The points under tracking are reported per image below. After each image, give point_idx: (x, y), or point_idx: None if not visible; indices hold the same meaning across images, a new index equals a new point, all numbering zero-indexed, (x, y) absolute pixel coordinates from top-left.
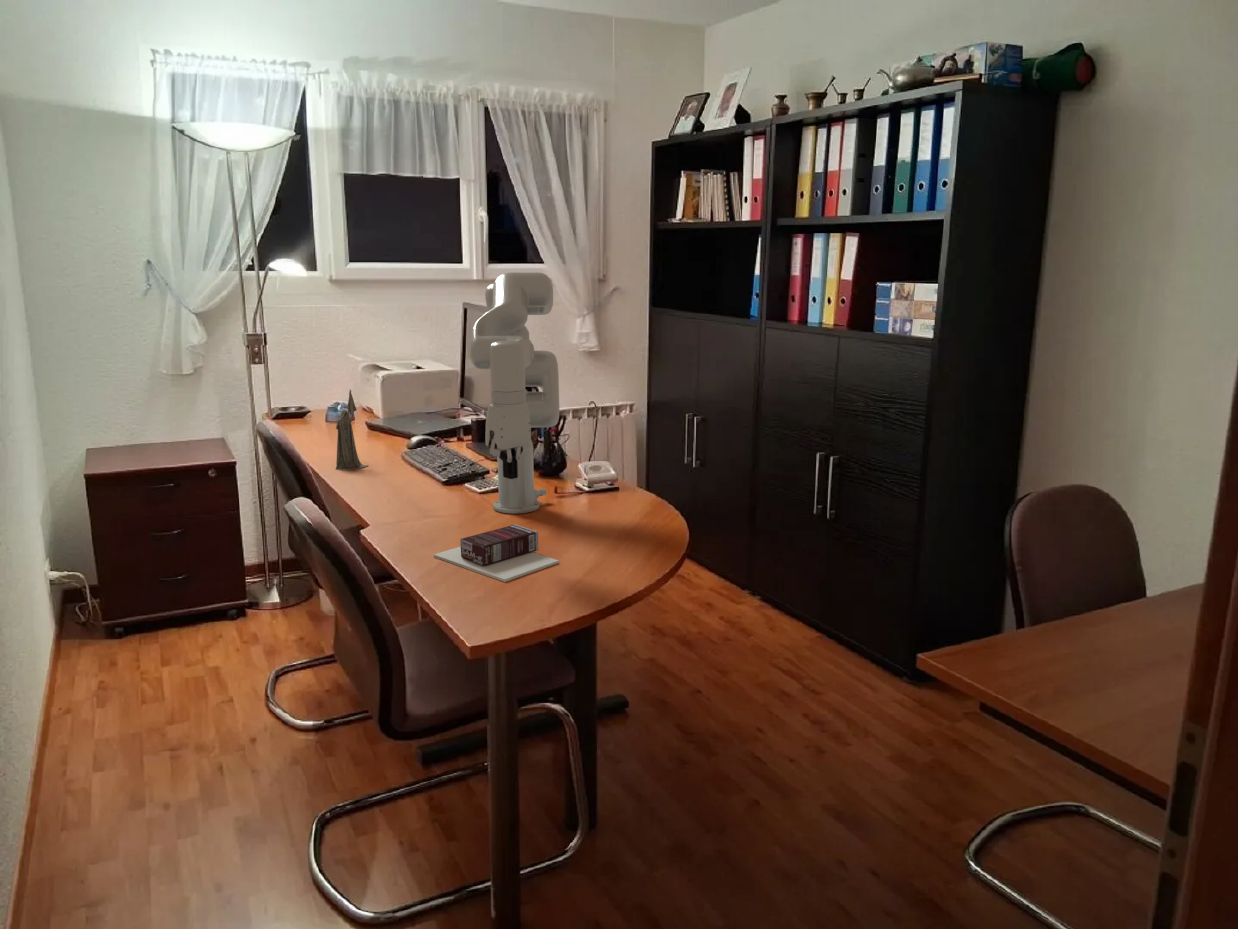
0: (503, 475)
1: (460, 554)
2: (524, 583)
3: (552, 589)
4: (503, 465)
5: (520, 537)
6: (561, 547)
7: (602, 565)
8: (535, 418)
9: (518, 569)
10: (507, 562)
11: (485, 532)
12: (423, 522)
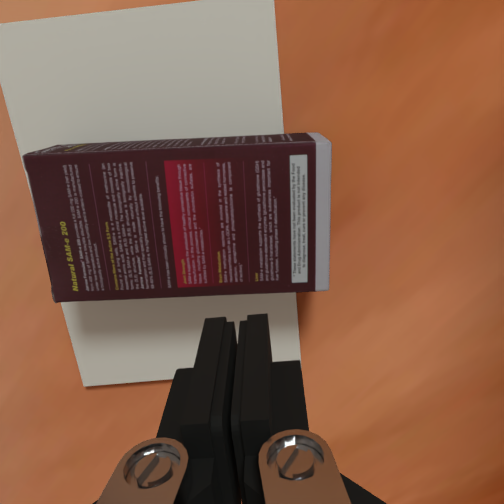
0: (206, 322)
1: (75, 102)
2: (126, 416)
3: None
4: (162, 431)
5: (236, 294)
6: (416, 260)
7: (375, 445)
8: None
9: (159, 352)
10: None
11: (154, 154)
12: None
